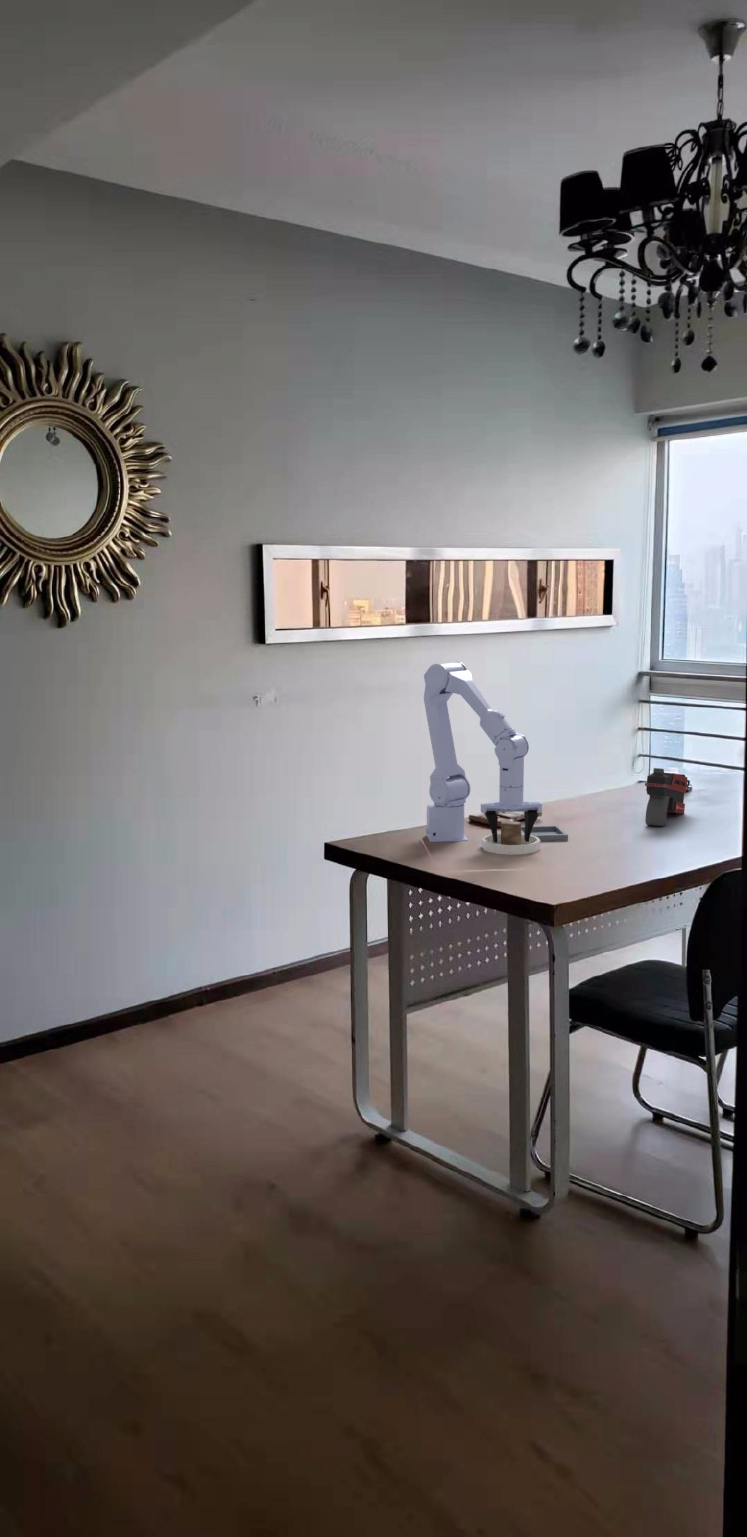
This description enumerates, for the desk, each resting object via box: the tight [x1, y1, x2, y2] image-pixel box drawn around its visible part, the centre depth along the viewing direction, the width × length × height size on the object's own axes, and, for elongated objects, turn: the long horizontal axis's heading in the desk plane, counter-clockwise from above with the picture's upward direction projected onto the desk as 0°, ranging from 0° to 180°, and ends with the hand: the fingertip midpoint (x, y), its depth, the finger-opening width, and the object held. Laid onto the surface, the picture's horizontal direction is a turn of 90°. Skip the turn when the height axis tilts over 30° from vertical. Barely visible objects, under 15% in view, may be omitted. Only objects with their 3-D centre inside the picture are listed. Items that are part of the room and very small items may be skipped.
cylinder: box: [500, 820, 522, 845], centre depth 287 cm, size 5×5×6 cm
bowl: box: [481, 832, 541, 856], centre depth 287 cm, size 14×14×2 cm
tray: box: [521, 825, 569, 842], centre depth 300 cm, size 11×11×2 cm
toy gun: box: [644, 767, 688, 827], centre depth 320 cm, size 5×24×15 cm, turn 152°
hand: (510, 841), depth 287 cm, fingers open, 7 cm apart
